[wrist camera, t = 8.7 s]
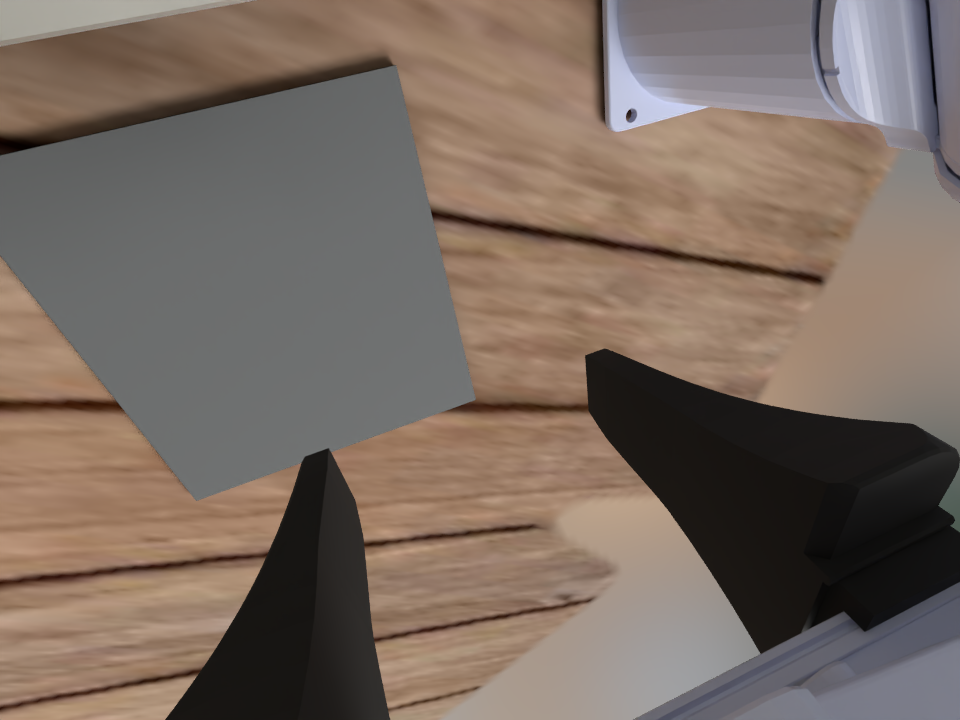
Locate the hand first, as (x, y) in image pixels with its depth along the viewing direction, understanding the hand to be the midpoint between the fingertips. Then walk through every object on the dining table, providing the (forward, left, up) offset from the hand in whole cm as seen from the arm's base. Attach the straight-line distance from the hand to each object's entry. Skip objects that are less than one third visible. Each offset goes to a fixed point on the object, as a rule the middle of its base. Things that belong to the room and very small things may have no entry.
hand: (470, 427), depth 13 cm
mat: (+5, -1, -10) cm, 11 cm away
